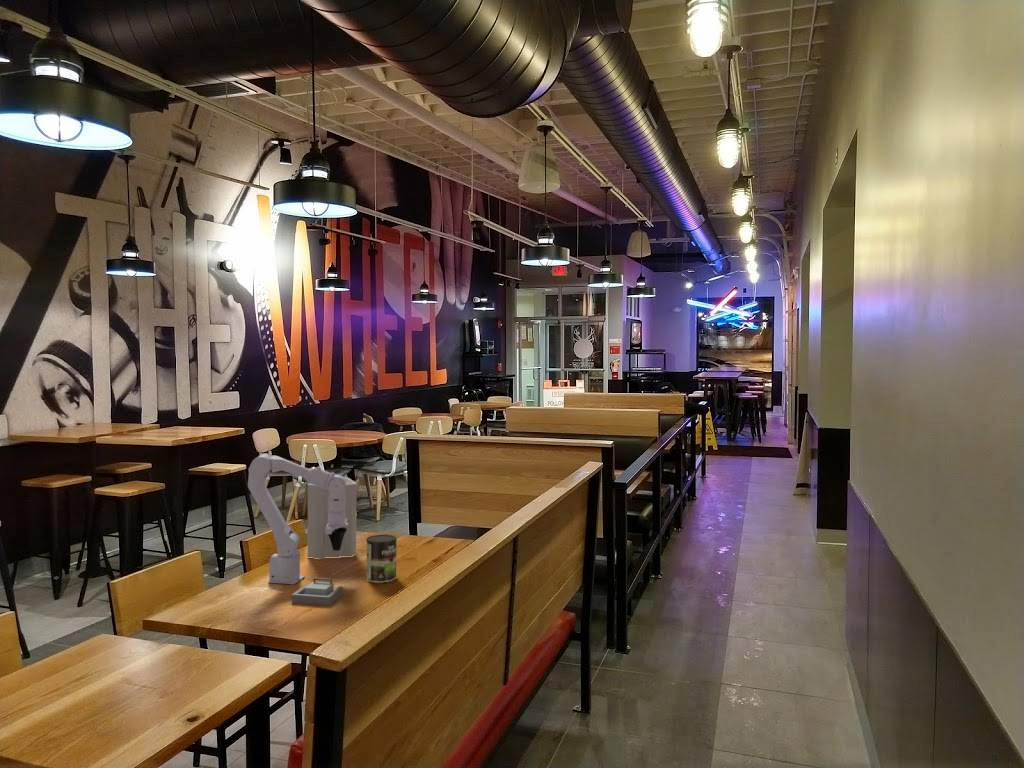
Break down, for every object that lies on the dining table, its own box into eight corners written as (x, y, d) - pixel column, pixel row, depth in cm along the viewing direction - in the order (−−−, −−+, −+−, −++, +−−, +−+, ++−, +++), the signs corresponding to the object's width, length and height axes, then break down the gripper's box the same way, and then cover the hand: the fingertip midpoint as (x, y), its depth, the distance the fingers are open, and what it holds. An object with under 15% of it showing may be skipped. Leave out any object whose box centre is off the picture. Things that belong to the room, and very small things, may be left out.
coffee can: (402, 578, 239) (403, 537, 238) (380, 585, 230) (380, 543, 230) (382, 572, 245) (382, 532, 244) (359, 579, 237) (360, 538, 236)
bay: (291, 602, 213) (291, 594, 213) (306, 591, 223) (306, 584, 223) (329, 605, 211) (329, 597, 211) (342, 594, 221) (342, 586, 221)
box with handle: (304, 599, 216) (304, 583, 216) (312, 593, 222) (312, 577, 222) (325, 601, 215) (326, 584, 215) (333, 594, 221) (333, 578, 221)
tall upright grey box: (338, 563, 254) (338, 487, 253) (306, 558, 261) (306, 484, 260) (369, 550, 272) (369, 479, 271) (338, 545, 278) (339, 476, 277)
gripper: (339, 516, 228) (339, 556, 229) (355, 506, 243) (355, 545, 243) (319, 514, 229) (319, 555, 230) (336, 505, 244) (336, 543, 244)
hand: (336, 550), depth 237 cm, fingers closed
